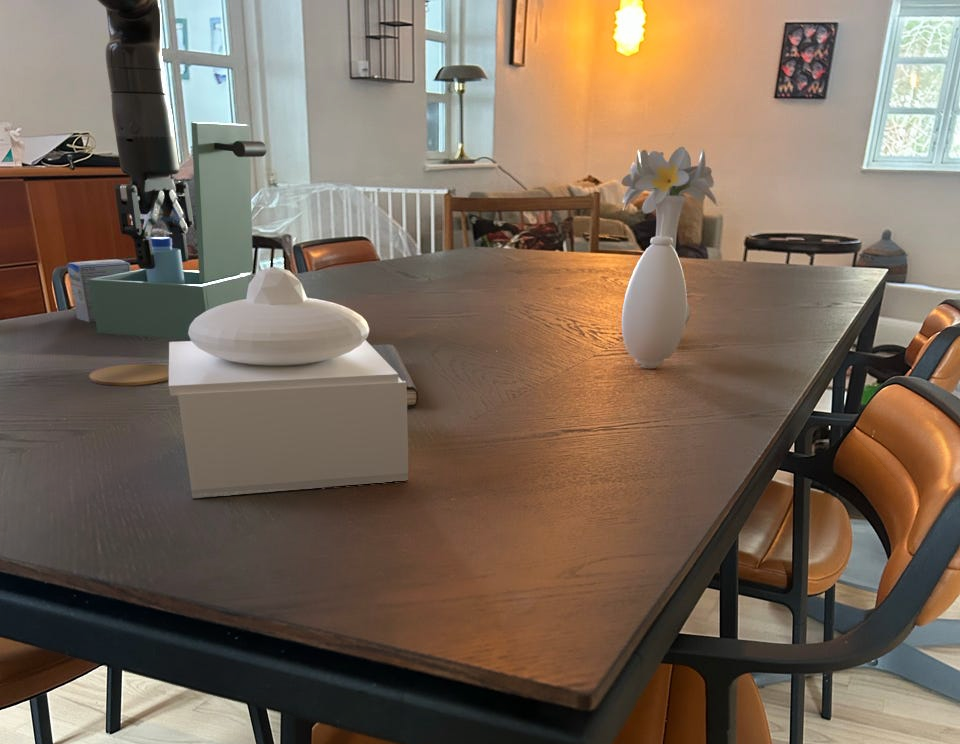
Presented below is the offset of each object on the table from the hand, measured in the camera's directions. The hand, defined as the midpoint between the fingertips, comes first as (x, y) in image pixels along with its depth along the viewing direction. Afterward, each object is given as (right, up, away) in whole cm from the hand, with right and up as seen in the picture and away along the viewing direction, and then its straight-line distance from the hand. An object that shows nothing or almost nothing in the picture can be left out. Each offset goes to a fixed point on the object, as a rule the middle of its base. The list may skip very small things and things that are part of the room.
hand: (164, 265), depth 128 cm
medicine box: (-13, -4, +11) cm, 18 cm away
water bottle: (0, -7, +4) cm, 9 cm away
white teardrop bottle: (+66, -18, -11) cm, 70 cm away
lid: (+10, +6, -6) cm, 13 cm away
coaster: (+3, -21, -20) cm, 29 cm away
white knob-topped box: (+28, -37, -47) cm, 66 cm away
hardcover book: (+28, -23, -22) cm, 43 cm away
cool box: (+1, -8, +4) cm, 9 cm away
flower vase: (+70, -8, +8) cm, 71 cm away
